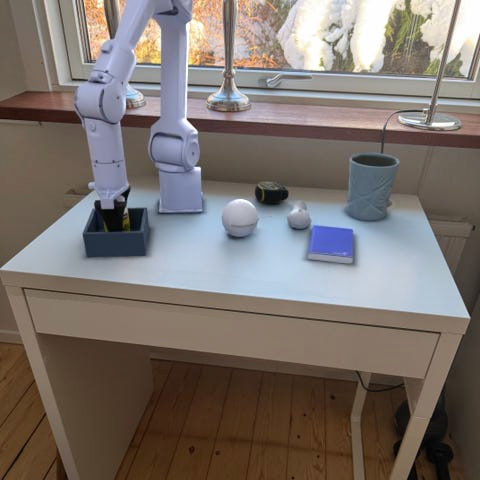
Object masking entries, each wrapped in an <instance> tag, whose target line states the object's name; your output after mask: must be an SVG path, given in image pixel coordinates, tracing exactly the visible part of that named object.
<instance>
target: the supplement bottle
mask: <svg viewBox="0 0 480 480" xmlns="http://www.w3.org/2000/svg"><path fill="white" fill-rule="evenodd" d="M116 200H117V201H118V202H125V199H124V197H123V196H121V195H119V196H118V197H117V198H116ZM127 208H128V206H126V208H125V211H124V216H123V232H128V231H130V223H129V215H128V209H127ZM103 221H104V220H103ZM104 227H105V232H108V230H107V227H106V225H105V223H104Z"/></svg>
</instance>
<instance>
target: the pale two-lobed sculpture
mask: <svg viewBox="0 0 480 480" xmlns="http://www.w3.org/2000/svg"><path fill="white" fill-rule="evenodd" d="M307 208H308V207H307V204H306V202H305V201H304V200H302V199H301V200H300V199H299V200H296V201H295V202H293V203H292V205H291V207H290V209H289V213H288V214H287V217H286V220H287V223H288V225H289V226H290V227H292V228H293V229H297V230H303V229H306V228H307V227H308V226H309V225H310V224H311V223H312V218H311V217H310V214H309V212H308V211H307Z"/></svg>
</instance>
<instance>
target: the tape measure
mask: <svg viewBox="0 0 480 480" xmlns="http://www.w3.org/2000/svg"><path fill="white" fill-rule="evenodd" d="M254 188H255V189H254V196H255V198H256V200H257V201H259V202H261V203H265V204H276V203H279V202H282V201H285V200H287V199H288V198H289V190H288V189H287V188H286V187H285V186H283V185H281V184H279V183H277V182H276V181H273V180H270V181H261V182H259V183H257V184H256V186H255V187H254Z"/></svg>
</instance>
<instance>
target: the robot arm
mask: <svg viewBox="0 0 480 480" xmlns="http://www.w3.org/2000/svg"><path fill="white" fill-rule="evenodd" d="M193 10H194V0H126V2H125V5H124V8H123V10H122V14H121V17H120V20H119V23H118V26H117V29H116V32H115V35H114V38H113V39H107V40H105V41H104V42H103V43H102V44H101V46H100V51H99V53H98V56H97V58H96V60H95V63H94V65H93V68H92V70H91V73H90V74H89V76H88V79H87V81H84V82H83V83H81V84H80V85H79V86H78V87H77V88H76V90H75V92H74V101H73V102H72V105H73V109H74V111H75V113H76V115H77V116H78V117H79V119H80V120H81V125H82V126H81V127H82V128H83V130H84V131H86V139H87V144H88V150H89V157H90V163H91V168H92V175H93V181H90V182H89V183H88V184H87V186H88V189H89V190H94V191H95V192H96V193H97V195H98V197H99V199H95V200H94V203H93V207H94V208H95V209H96V210H97V211H98V213H99V214H100V215H101V217H102V219H103V220H104V223H105V225H106V227H107V230H108V232H123V216H124V211H125V208H126V207H128V198H129V195H130V192H131V190H132V188H131V186H130V183H129V182H130V181H128V176H127V169H126V159H125V152H124V143H123V136H122V127H121V120H122V119H123V117H124V115H125V114H126V109H127V95H128V94H127V92H128V91H127V86H128V84H129V82H130V80H131V77H132V75H133V72H134V69H135V67H136V65H137V62H138V60H137V55H136V54H135V49H136V47H137V46H138V43H139V41H140V40H141V38H142V36H143V34H144V32H145V30H146V28H147V26H148V24H149V23H150V21H151V19H152V20H154V21H155V22H156V23H157V25H158V27H159V28H160V117H159V119H158V120H157V121H156V122H154V123H153V124H152V125H151V126H150V136H149V140H148V144H147V153H148V156H149V158H150V160H151V162H152V163H154V168H157V171H158V180H159V181H158V182H159V192H160V193H159V194H160V198H159V207H158V213H159V214H185V213H202V212H203V201H204V193H203V191H202V167H201V166H196V165H197V164H198V162H199V159H200V157H201V155H200V154H201V149H200V144H199V137H198V136H199V135H198V134H199V132H198V130H197V129H196V128H195V127H194V126H193V125H192V124H191V123H190V121H188V120H187V109H188V108H187V107H188V105H187V103H188V71H189V39H190V37H189V36H190V35H189V34H190V22H191V21H193ZM119 195H121V196H123V197H124V199H125V202H118V201H117V200H116V198H117V197H118V196H119Z"/></svg>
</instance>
